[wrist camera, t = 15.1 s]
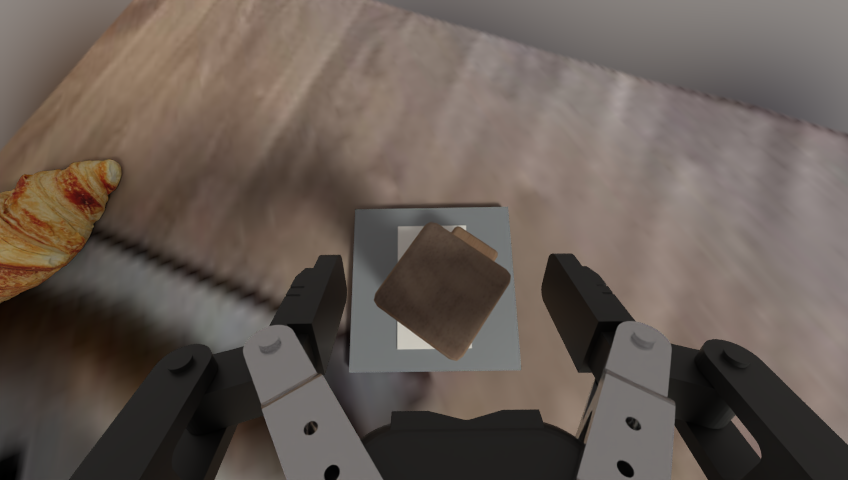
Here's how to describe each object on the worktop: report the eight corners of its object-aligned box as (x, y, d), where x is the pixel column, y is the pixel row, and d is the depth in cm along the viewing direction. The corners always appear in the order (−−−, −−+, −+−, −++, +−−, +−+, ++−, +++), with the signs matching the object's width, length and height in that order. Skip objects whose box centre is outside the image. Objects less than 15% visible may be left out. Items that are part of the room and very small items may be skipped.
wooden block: (453, 235, 32) (484, 140, 15) (490, 261, 32) (569, 191, 14) (401, 310, 31) (368, 300, 13) (439, 338, 30) (458, 366, 13)
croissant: (139, 168, 40) (59, 117, 34) (156, 194, 34) (62, 138, 28) (-12, 304, 36) (-136, 274, 29) (-23, 361, 30) (-181, 338, 23)
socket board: (351, 370, 31) (348, 372, 29) (357, 212, 35) (354, 208, 33) (517, 368, 31) (521, 370, 29) (505, 210, 34) (508, 206, 33)
